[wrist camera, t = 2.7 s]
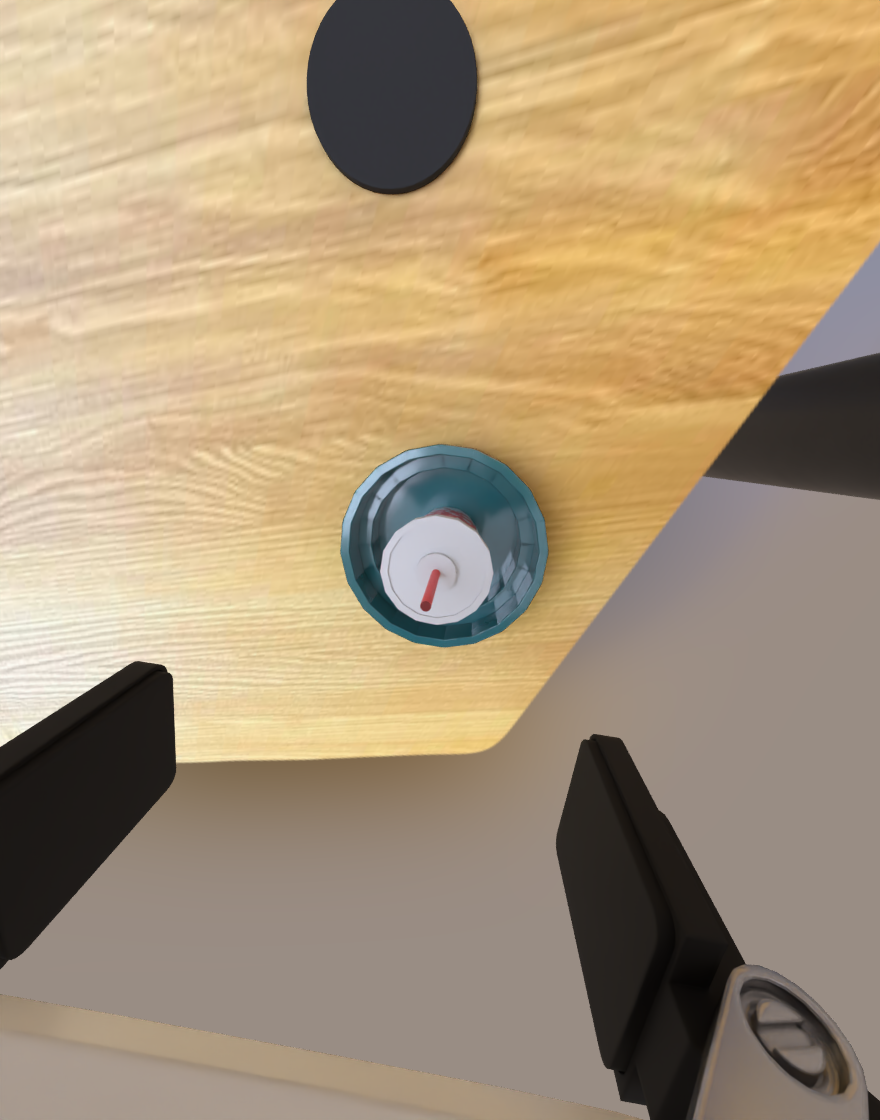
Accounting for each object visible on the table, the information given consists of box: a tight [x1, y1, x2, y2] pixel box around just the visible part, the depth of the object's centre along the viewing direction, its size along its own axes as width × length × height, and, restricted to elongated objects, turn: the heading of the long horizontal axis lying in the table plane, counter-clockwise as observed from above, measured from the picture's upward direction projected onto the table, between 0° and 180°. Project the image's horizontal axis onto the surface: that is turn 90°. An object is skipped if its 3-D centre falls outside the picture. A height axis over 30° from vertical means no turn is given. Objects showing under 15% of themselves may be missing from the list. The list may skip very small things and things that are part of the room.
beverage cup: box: [380, 507, 493, 625], centre depth 25 cm, size 6×6×14 cm
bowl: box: [340, 444, 548, 647], centre depth 29 cm, size 13×13×5 cm
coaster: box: [307, 0, 477, 194], centre depth 25 cm, size 10×10×1 cm
